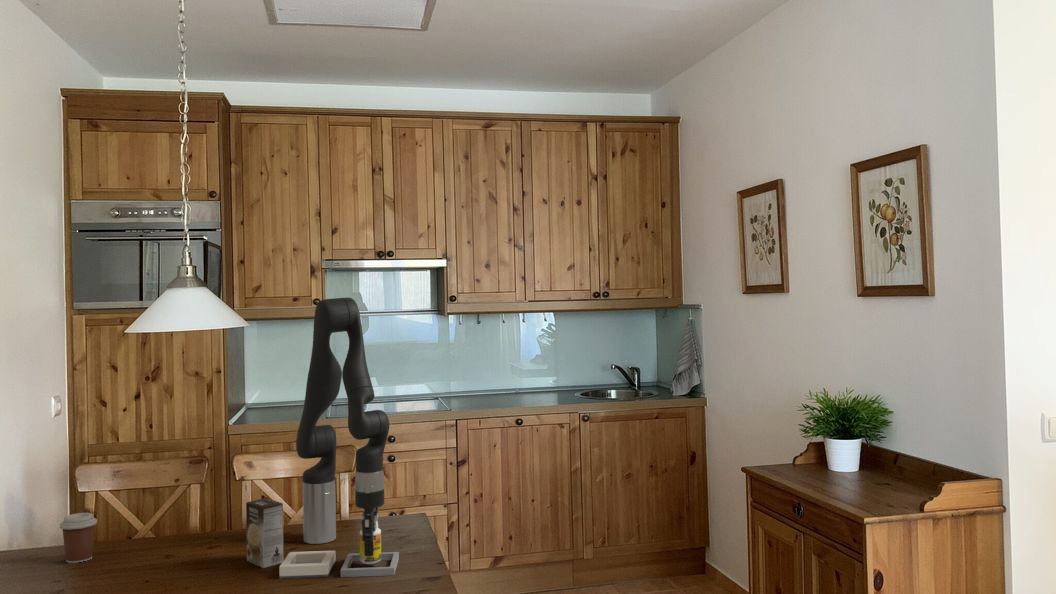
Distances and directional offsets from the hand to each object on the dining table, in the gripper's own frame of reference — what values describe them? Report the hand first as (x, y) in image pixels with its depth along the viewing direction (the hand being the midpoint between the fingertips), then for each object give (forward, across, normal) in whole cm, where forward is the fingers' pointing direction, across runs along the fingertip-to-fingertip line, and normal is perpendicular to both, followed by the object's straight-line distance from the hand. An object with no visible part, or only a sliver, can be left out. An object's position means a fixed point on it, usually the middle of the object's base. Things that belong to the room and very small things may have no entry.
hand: (370, 551), depth 216 cm
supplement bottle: (+3, 0, 0) cm, 3 cm away
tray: (+4, 0, 0) cm, 4 cm away
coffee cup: (+5, -16, -81) cm, 83 cm away
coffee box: (+5, -8, -29) cm, 30 cm away
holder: (+4, 0, -16) cm, 16 cm away
